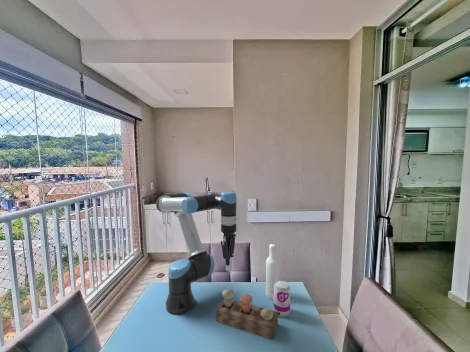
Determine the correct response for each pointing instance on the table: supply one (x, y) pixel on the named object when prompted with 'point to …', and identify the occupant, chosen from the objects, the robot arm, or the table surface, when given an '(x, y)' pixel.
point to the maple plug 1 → (227, 298)
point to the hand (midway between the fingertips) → (228, 270)
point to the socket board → (247, 319)
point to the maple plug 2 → (266, 314)
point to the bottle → (271, 271)
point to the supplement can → (282, 298)
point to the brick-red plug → (246, 303)
